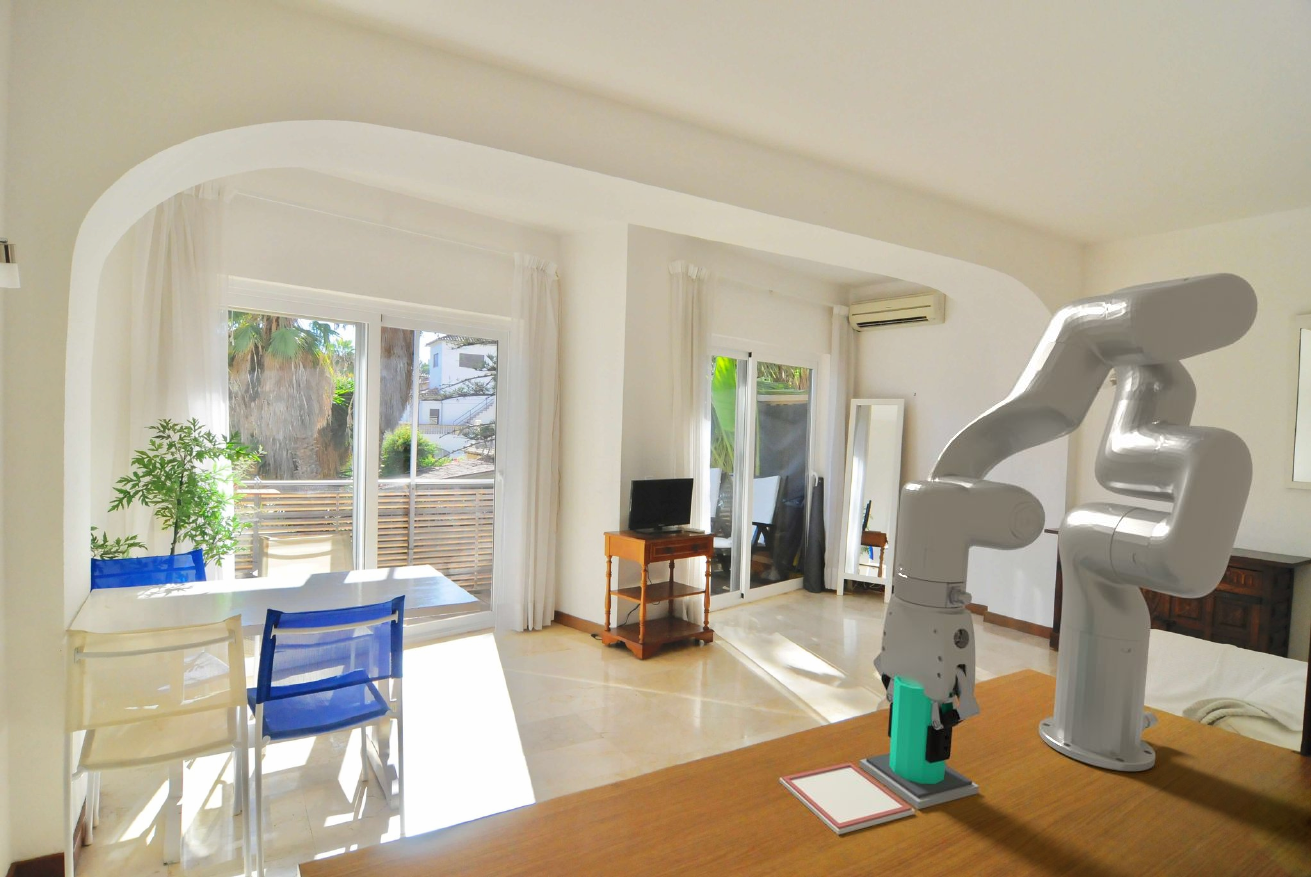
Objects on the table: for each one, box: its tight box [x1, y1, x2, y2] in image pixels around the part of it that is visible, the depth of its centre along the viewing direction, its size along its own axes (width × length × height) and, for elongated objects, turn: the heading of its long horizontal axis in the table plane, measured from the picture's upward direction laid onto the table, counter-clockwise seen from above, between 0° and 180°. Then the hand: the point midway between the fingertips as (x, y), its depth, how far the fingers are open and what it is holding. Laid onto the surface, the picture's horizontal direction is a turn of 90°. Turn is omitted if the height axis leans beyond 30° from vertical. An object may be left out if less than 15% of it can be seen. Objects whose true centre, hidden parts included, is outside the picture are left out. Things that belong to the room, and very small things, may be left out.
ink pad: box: [859, 752, 980, 810], centre depth 78 cm, size 9×9×1 cm
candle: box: [889, 676, 947, 784], centre depth 77 cm, size 6×6×12 cm
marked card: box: [778, 761, 915, 836], centre depth 73 cm, size 10×10×1 cm
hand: (918, 746), depth 77 cm, fingers closed on candle, 4 cm apart
